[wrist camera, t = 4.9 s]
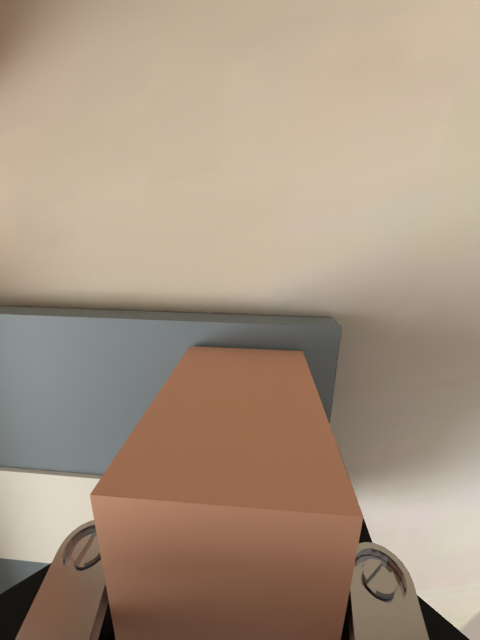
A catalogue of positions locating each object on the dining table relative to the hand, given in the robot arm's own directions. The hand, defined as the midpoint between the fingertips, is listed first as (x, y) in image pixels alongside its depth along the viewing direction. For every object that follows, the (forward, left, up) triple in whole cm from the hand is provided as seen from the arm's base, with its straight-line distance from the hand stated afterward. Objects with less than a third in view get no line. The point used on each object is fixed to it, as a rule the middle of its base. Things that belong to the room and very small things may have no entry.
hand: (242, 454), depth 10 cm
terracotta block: (0, 0, -1) cm, 1 cm away
